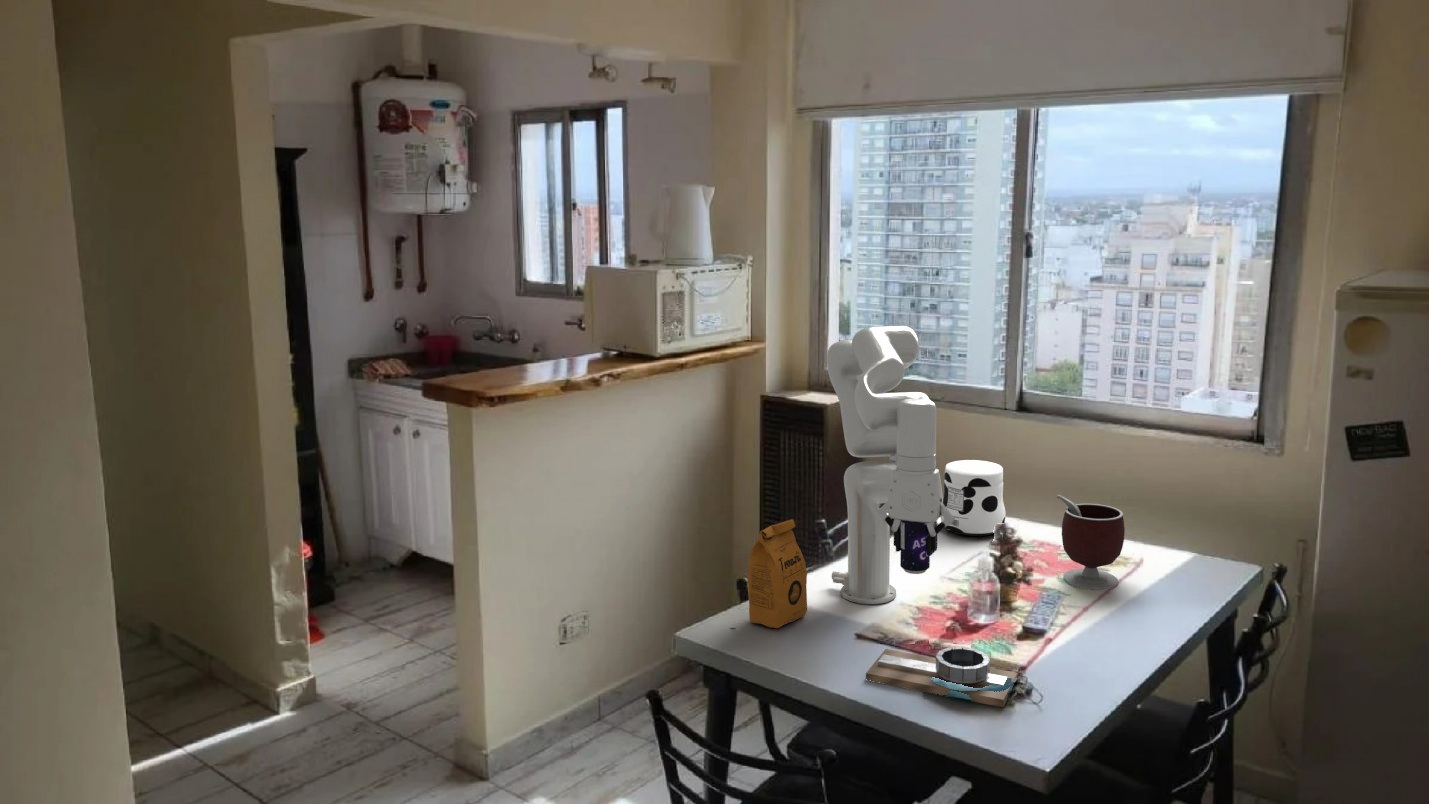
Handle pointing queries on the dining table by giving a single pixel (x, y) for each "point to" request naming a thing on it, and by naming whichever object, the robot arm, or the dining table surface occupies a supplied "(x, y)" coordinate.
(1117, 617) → the dining table surface
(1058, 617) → the dining table surface
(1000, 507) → the milk container
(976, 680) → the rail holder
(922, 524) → the beverage can
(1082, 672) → the dining table surface
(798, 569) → the coffee package
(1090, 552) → the mate gourd
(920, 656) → the mount board
